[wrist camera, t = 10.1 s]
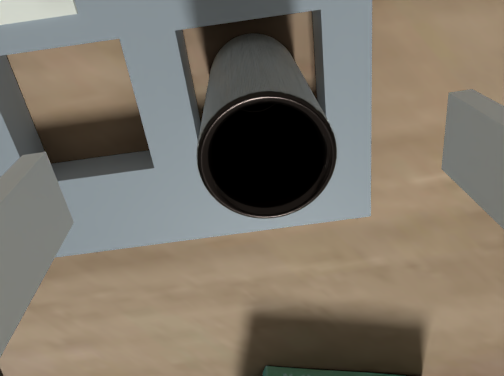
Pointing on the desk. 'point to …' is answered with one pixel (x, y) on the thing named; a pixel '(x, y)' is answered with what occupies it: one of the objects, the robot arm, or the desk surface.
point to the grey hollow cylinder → (263, 132)
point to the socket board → (183, 116)
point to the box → (314, 372)
